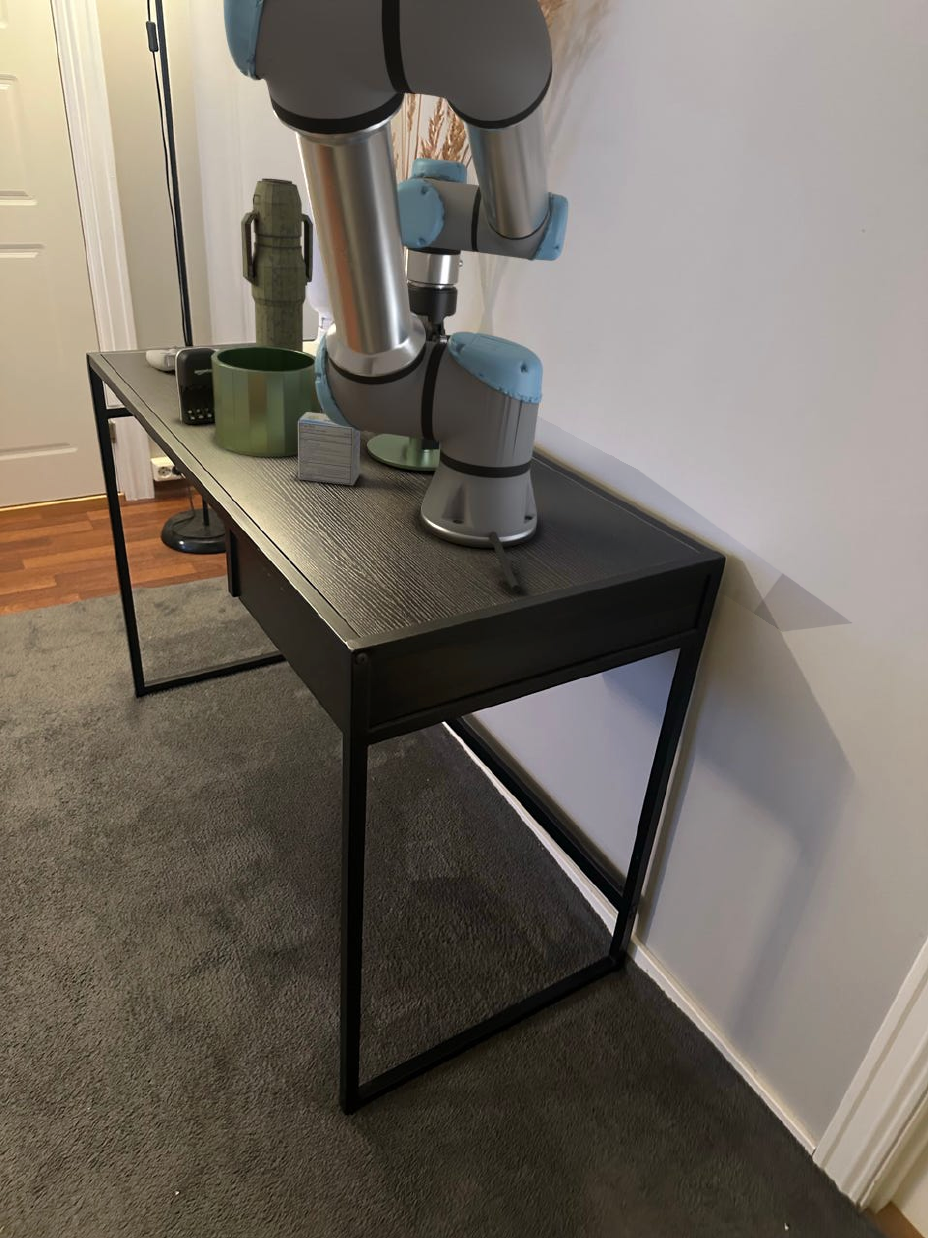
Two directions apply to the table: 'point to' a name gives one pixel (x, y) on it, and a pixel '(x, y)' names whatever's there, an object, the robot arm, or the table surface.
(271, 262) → the thermos
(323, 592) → the table surface
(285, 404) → the green pot
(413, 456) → the bin lid
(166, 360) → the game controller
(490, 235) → the robot arm
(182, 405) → the battery charger
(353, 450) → the medicine box
